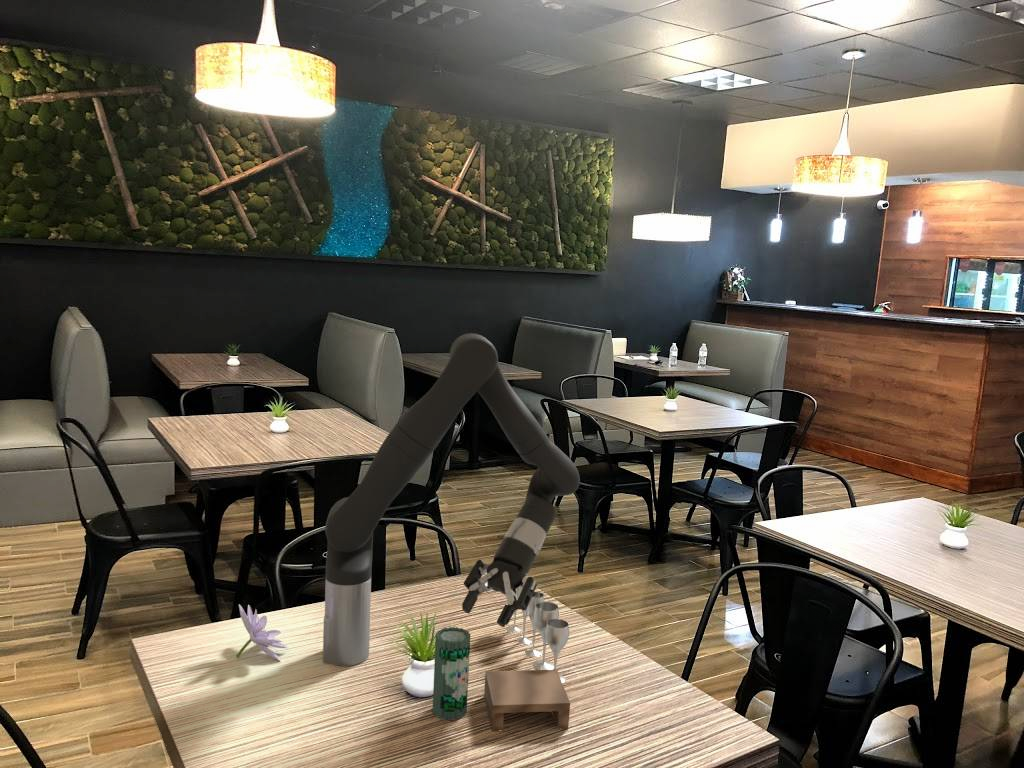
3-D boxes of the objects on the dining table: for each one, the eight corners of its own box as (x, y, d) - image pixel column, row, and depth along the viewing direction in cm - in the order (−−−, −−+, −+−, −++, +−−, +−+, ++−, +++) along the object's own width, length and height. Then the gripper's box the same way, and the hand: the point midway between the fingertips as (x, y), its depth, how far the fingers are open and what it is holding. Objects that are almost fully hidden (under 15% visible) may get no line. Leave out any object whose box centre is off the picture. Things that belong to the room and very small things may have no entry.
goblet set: (572, 683, 161) (576, 620, 159) (545, 687, 159) (549, 623, 157) (521, 623, 187) (524, 568, 185) (498, 625, 185) (501, 571, 183)
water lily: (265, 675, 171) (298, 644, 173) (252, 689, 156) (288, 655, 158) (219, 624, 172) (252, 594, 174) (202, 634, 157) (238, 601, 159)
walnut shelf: (491, 731, 143) (493, 705, 142) (484, 695, 155) (485, 671, 154) (568, 728, 145) (570, 702, 144) (555, 693, 157) (556, 669, 156)
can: (448, 724, 145) (452, 645, 142) (426, 710, 149) (429, 634, 146) (472, 711, 149) (476, 635, 147) (450, 698, 153) (453, 624, 151)
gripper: (485, 527, 163) (445, 598, 155) (543, 545, 154) (504, 620, 147) (499, 546, 168) (462, 615, 160) (556, 564, 159) (519, 638, 152)
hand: (482, 618), depth 153 cm, fingers open, 8 cm apart
